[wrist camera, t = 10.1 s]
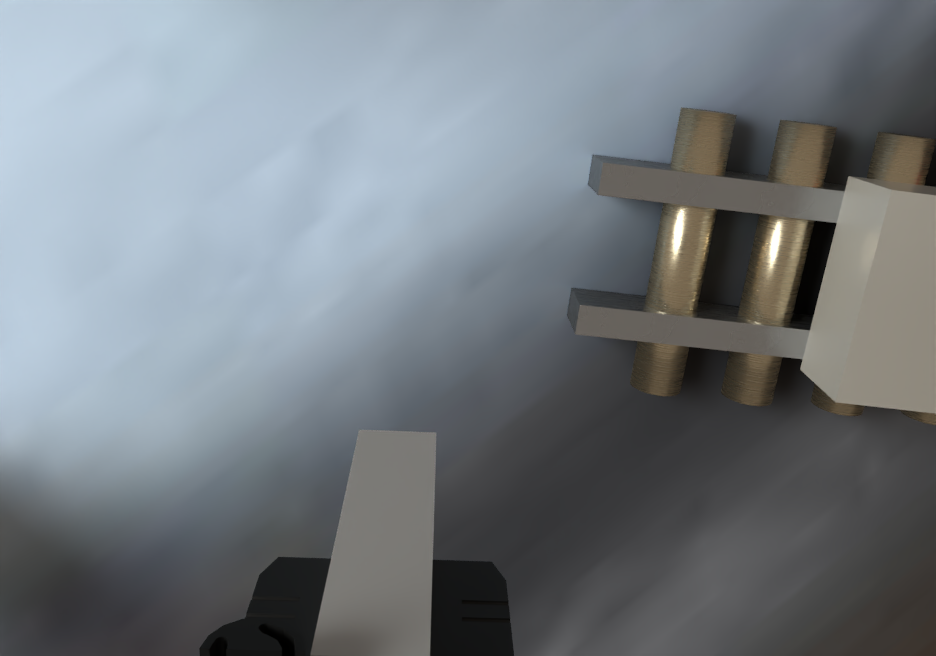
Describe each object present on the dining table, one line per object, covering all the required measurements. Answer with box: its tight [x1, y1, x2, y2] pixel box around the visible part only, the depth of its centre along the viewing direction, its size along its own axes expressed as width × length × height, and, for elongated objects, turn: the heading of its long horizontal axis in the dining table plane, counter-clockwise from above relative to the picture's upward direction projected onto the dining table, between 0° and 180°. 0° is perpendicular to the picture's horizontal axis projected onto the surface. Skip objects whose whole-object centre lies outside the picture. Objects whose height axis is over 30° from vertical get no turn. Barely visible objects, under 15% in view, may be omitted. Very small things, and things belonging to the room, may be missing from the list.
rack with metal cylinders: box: [567, 108, 936, 425], centre depth 41 cm, size 14×27×5 cm, turn 83°
